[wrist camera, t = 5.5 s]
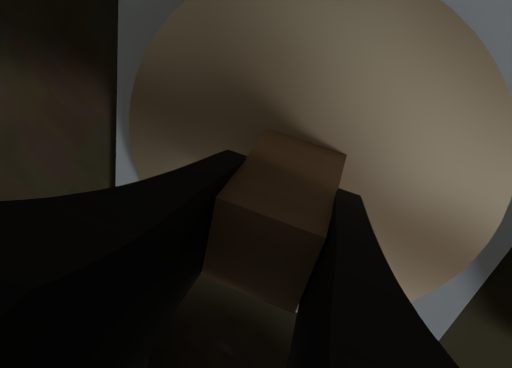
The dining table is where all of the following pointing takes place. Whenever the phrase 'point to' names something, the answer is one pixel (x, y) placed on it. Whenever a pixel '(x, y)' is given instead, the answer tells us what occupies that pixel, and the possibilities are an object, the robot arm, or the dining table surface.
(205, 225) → the robot arm
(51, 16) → the dining table surface
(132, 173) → the mat
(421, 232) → the lid
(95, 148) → the dining table surface
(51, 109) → the dining table surface
